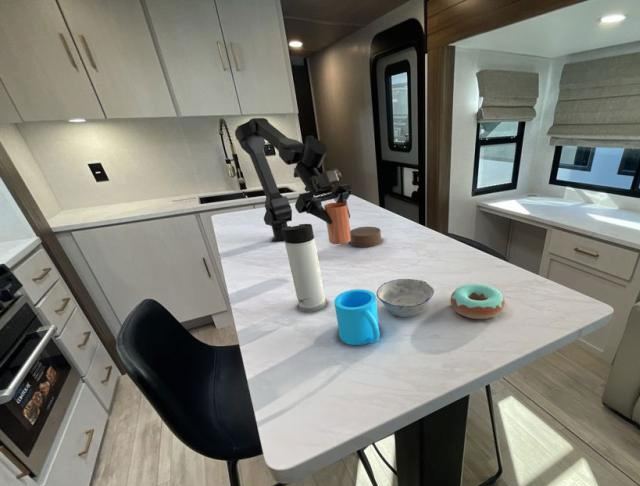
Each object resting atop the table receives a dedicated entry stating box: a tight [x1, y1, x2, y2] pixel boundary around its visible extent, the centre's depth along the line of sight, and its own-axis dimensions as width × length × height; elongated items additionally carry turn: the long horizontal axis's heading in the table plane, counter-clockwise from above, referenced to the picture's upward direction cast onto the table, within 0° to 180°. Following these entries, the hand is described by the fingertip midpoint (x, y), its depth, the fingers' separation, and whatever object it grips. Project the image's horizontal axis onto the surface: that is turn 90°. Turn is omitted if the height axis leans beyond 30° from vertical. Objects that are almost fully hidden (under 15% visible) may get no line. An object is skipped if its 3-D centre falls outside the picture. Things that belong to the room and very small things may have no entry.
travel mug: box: [282, 223, 326, 313], centre depth 72 cm, size 6×7×20 cm
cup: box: [323, 202, 351, 245], centre depth 98 cm, size 7×7×11 cm
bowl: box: [376, 278, 435, 318], centre depth 73 cm, size 13×13×5 cm
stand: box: [350, 226, 382, 248], centre depth 115 cm, size 11×11×4 cm
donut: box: [450, 283, 506, 320], centre depth 72 cm, size 12×12×4 cm
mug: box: [333, 288, 381, 346], centre depth 63 cm, size 12×8×8 cm
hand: (340, 220), depth 96 cm, fingers closed on cup, 7 cm apart
